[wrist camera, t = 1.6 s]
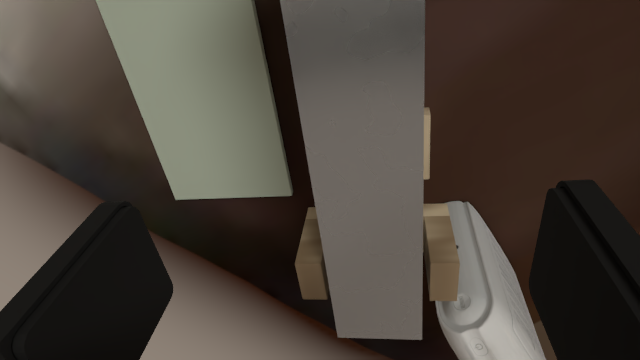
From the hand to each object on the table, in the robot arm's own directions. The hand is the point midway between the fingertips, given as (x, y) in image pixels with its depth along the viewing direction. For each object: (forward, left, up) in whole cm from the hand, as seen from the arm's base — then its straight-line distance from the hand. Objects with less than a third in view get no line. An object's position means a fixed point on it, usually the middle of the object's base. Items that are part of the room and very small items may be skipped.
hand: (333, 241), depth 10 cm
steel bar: (0, 0, -9) cm, 9 cm away
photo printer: (-7, +18, -19) cm, 27 cm away
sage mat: (+11, 0, -19) cm, 22 cm away
